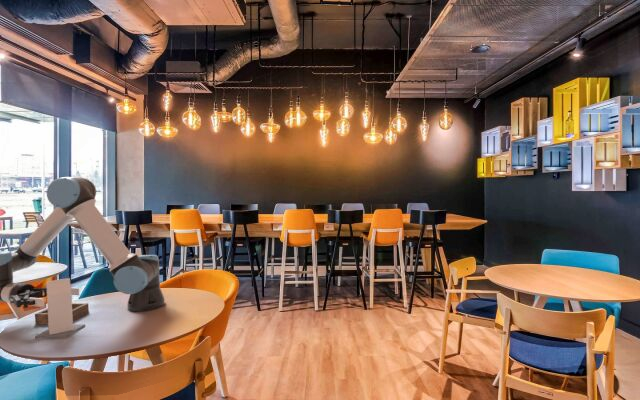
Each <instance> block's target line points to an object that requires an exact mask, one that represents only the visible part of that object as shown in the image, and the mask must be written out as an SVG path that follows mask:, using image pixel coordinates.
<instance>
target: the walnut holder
mask: <svg viewBox="0 0 640 400" xmlns="http://www.w3.org/2000/svg"><path fill="white" fill-rule="evenodd" d="M88 313H90V311H89V303H88V302H86V303H85V302H84V303H83V302H77V303H76V302H75V303H74V302H72V314H73V322H74V321H75V320H77V319H80V318H81V317H83V316H85V315H87V314H88ZM34 318H35V319H34V321H35V325H48V308H46V309H44V310H41V311H39V312H36V313H34Z"/></svg>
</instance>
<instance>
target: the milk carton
mask: <svg viewBox="0 0 640 400" xmlns="http://www.w3.org/2000/svg"><path fill="white" fill-rule="evenodd" d="M46 286H47V296H46V300H47V301H46V304H47V309H48V324H47V325H48V329H49V333H50V335H52V334H57V333H61V332H66V331H70V330H73V324H74V321H73V314H72V303H73V298H72V296H73V295H72V294H71V286H72V283H71V278H70V277H67V278H61V279H55V280H48V281H46Z"/></svg>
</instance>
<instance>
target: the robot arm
mask: <svg viewBox="0 0 640 400" xmlns="http://www.w3.org/2000/svg"><path fill="white" fill-rule="evenodd" d="M96 195H97V188H96V186H95V184H94V183H93V182H92V181H91V180H90V179H87V178H85V177H72V176H64V177H58V178H56V179H54V180H52V181H51V182H50V184H49V185H48V187H47V189H46V197H47V200H48V202H49V203H50V204H51V205H52V206H53V207H55V209H54V210H53V211H52V212H51V213H50V214H49V215H48V216H47V217H46V218H45V219H44V220H43V222H42V223H40V224H39V225H38V227H37V228H36V229H35V230H34V231H33V232H32V233H31V234H30V235H29V236H28V237H27V238H26V239H25V240H24V242H22V244H21V245H20V246H19V247H18V248H17V249H16V250H15V251H14V252H11V251H9V250H5V251H4V250H2V251H0V303H8V304H9V303H11V304H13V305H14V306H15V307H16V308H17V309H18V308H19V309H20V308H21V307H22V306H23V308H24V309H26V308H29V307H38V308H39V307H40V308H41V307H42V308H44V307H45V298H47V285H45V286H44V287H35V286H34V285H33V284H30V283H23V282H22V283H21V282H14V273H15V272H17V271H21V270H24V269H28V268H29V267H32V266H34V265H35V263H36V262H37V261H38V257H39V255H40V254H41V253H42V252H43V251H44V250H45V249H46V248H47V247H48V246H49V245H50V243H52V241H53V240H54V239H55V238H56V237H57V236H59V234H60V233H61V232H62V231H63V230H64V229H65V227H66V226H67V225H69V223H70V222H71V221H72V220H73V219H74V220H75V221H76V223H77V224H78V225H79V226H80V228H81V229H82V230H83V232H84V233H85V234H86V235H87V237H88V238H89V240H90V241H91V243H93V245H94V246H95V248H97V250H98V251H99V253H100V254H101V256H103V258H104V259H105V260H106V262H107V263H108V264H109V266H110V267H109V272H110V274H111V275H112V277H113V285H114V288H115V289H116V290H117V291H118V292H119V293H122V294H124V295H129V298H128V301H127V310H128V311H129V312H130V311H131V312H145V311H146V312H147V311H151V310H155V309H158V308H160V307H163V306H164V305H165V301H166V299H165V297H164V294H163V292H162V290H161V289H162V288H161V284H160V281H161V280H160V259H159V256H158V255H157V254H141V255H138V254H137V253H133V252H130V250H129V249H128V247H127V246H126V245H125V244H124V242H123V241H122V240H121V238H120V237H119V236H118V234H117V233H116V231H115V230H114V229H113V228H112V227H111V225H110V223H108V221H107V220H106V218H105V217H104V216H103V215H102V213H101V212H100V210H99V209H98V208H97V207H96V205H95V204H96V201H97V200H96ZM43 293H44V294H43ZM71 294H72V296H79V295H80V287H71Z"/></svg>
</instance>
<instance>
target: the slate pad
mask: <svg viewBox="0 0 640 400" xmlns="http://www.w3.org/2000/svg"><path fill="white" fill-rule="evenodd" d="M85 326H86V324H85V323H84V324H83V323H79V324H78V323H77V324H76V323H75V324H74V323H73V330H70V331H66V332H61V333H57V334H52V335H50V333H49V328H48V329H46V330H44V331H42V332H41V333H38V334H36V335H34V339H65V338H67V337H69V336H71V335H73V334H74V333H77V332H78V331H79V330H82V329H83V328H85Z"/></svg>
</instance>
